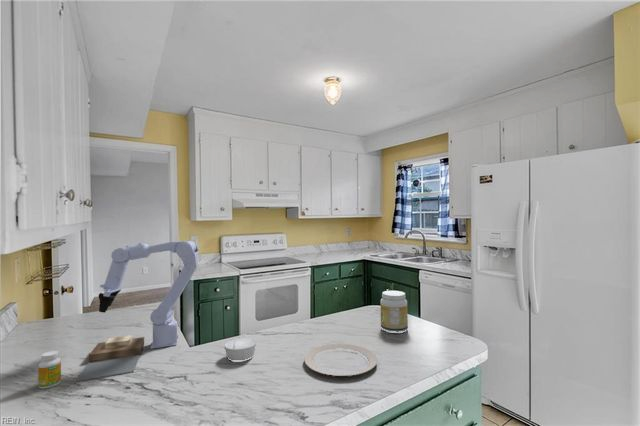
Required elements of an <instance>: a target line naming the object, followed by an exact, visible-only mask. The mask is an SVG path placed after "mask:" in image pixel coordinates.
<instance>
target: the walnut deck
mask: <svg viewBox="0 0 640 426" xmlns="http://www.w3.org/2000/svg"><path fill="white" fill-rule="evenodd" d="M106 342H107V341H103V342H98V343H97V344H96V345H95V347H94V348H93V349H92V351H91V352H90V353H89V355H88V363H89V362H96V361H102V360H109V359H115V358H122V357H129V356H135V355H140V356H141V353H142V351H143V349H144V346H145V336H142V337H141V336H140V337H135V338H133V337H132V342H131V344H130V346H122V347H115V348H108V349H105V343H106Z"/></svg>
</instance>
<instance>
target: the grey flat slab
mask: <svg viewBox="0 0 640 426" xmlns="http://www.w3.org/2000/svg"><path fill="white" fill-rule="evenodd" d="M140 356H141V354H140V355H135V356H129V357H122V358H115V359H109V360H102V361H96V362H89V361H88V363H87V364H86V366H85V367H84V368H83V370H81V372H80V374H79V376H77V378H76V380H75V383H77V382H84V381H88V380H95V379H96V380H97V379H101V378H106V377H114V376H119V375H125V373H126V374H131V373H130V372H132V373H134V372H135V368H136V366H137V364H138V361H139V359H140Z"/></svg>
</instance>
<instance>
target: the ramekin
mask: <svg viewBox="0 0 640 426" xmlns="http://www.w3.org/2000/svg"><path fill="white" fill-rule="evenodd" d="M256 346H257V342H256V340H255V339H253V338H249V337H248V338H247V337H241V338H235V339H232V340H230V341H227V342H226V343H225V344H224V350H225V354H226V359H227V358H229V359H231V360H245V359H248V358H250V357H252V356H253V357H254V355H255V350H256ZM253 357H252V358H253Z"/></svg>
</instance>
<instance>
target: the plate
mask: <svg viewBox="0 0 640 426" xmlns="http://www.w3.org/2000/svg"><path fill="white" fill-rule="evenodd" d="M335 348H343V349H351V350H354V351H358V352H360V353H362V354H363V355H365V356H366V357H367V359H368V361H369V365H368V364H367V367H366V368H365V369H364V370H361V371H357V372H356V373H350V374H334V373H329V372H325V371H322V370H320V369H318V368H316V367H315V365H314V363H313V364H312V360H313V358H314V356H315V355H316V354H317V353H319V352H321V351H324V350H327V349H335ZM304 363H305V365H306V367H308V368H309V369H311V370H312V371H315V372H317V373H319V374H322V375H325V374H326V376H329V375H332V376H331V377H335V376H348V377H353V375H354V376H357V375H362V374H365V373H368V372H370V371H371V370H372V369H373V368H375V367H376V365H377V364H378V358H377V356H376V355H375V354H374V353H373V351H371V350H369V349H367V348H365V347H362V346H361V345H360V346H359V345H356V344H350V343H349V344H347V343H331V344H324V345H321V346H317V347H314V348H312V349H311V350H309V351H308V352H307V353H306V354H305V356H304ZM313 365H314V366H313Z"/></svg>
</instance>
